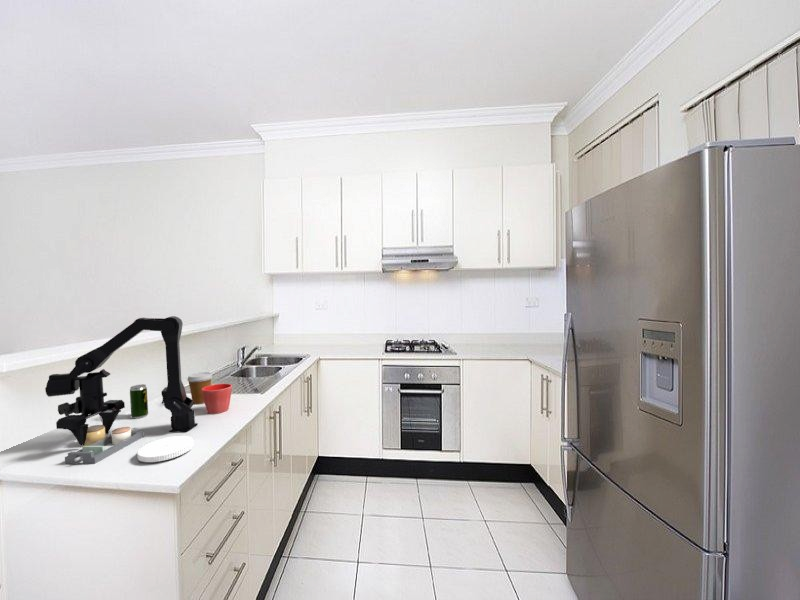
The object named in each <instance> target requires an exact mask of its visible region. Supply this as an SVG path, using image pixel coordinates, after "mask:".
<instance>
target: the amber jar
mask: <svg viewBox="0 0 800 600" xmlns="http://www.w3.org/2000/svg"><path fill="white" fill-rule="evenodd" d="M105 437H107V436H106V434H105V427H104V425H103V424H95V425H91V426H88V430H87V436H86V441H85V444H84V445H82V447H83V446H89V445H91V444H93V443H95V442H97V441H99V440H101V439H103V438H105Z"/></svg>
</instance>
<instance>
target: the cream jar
mask: <svg viewBox="0 0 800 600" xmlns="http://www.w3.org/2000/svg"><path fill="white" fill-rule="evenodd" d="M131 431H132V428H131V427H130V426H122V427H118V428H114V429H113V430H112V432H111V435H112V442H111V445H112V446H114V445H116V444H118V443H120V442H121V441H123V440H125V439H127V438H129V437H131Z"/></svg>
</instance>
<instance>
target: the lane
mask: <svg viewBox="0 0 800 600" xmlns="http://www.w3.org/2000/svg"><path fill="white" fill-rule="evenodd" d="M144 436H145V434H144V431H141V430H140V431H137V430H134V431H132V430H131V437H129V438H127V439H125V440H123V441H121V442H120V443H118V444H116V445H112V446H110V447H108V448H107V449H106V448H105V450H104V451H102V452H101V453H99V454H97V455H95V456H94V452H82V448H81V449H79V450H76V451H70V452H67V456H65V457H64V464H68V465H69V464H79V463H80V462H81V459H80V460H78V461H76V462H75V461H74V459H75V458H77V457H79V456H81V455H83V458H82V464H83V465H84V464H92V465H93V464H94V465H95V464H97V463H98V462H101V461H102V460H104V459H106V458H108V457H110V456H112V455H114V453H116V452H119V451H120V450H123V449H124V448H125V447H128V446H130V445H131V444H133V443H135V442H137V441H138V440H141V439H142V438H144ZM109 443H112V434H110V435H108V436H106V437H105V438H103V439H101V440H99V441H97V442H95V443H93V444H91V445H89V446H104V447H105V446H106V445H107V444H109Z"/></svg>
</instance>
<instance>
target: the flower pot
mask: <svg viewBox="0 0 800 600" xmlns="http://www.w3.org/2000/svg"><path fill="white" fill-rule="evenodd" d="M232 390H233V385H232V384H231V383H218V384H217V383H216V384H211V385H210V386H207V387H204V388H202V394H203V398H204V402H205V403H204V406H205V409H206V412H207V414H211V415H216V414H220V413H225V412H227V411H229V408H230V404H231V403H230V402H231V396H232Z"/></svg>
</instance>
